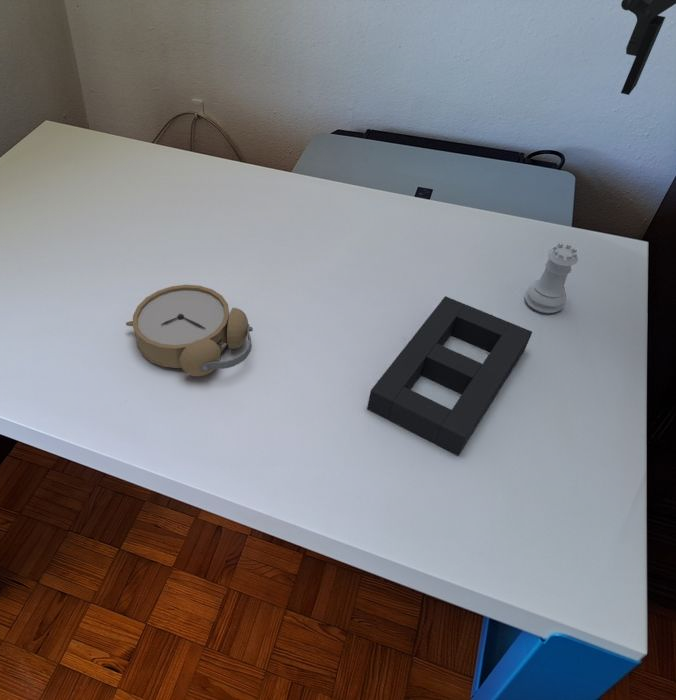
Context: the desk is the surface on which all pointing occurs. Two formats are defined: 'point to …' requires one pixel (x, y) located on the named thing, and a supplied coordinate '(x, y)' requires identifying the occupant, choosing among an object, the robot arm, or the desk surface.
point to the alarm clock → (189, 329)
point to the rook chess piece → (552, 280)
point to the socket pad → (449, 374)
